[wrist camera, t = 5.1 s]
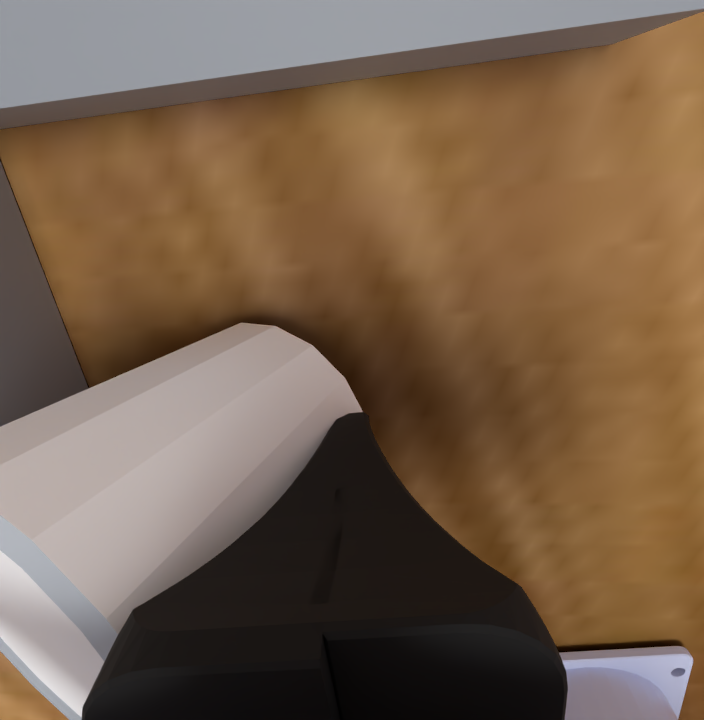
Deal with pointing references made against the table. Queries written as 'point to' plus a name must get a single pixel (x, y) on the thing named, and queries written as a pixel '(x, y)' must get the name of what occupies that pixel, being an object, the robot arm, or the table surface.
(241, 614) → the robot arm
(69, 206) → the table surface
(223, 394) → the shot glass
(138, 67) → the l-shaped bracket
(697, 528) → the table surface
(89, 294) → the table surface
